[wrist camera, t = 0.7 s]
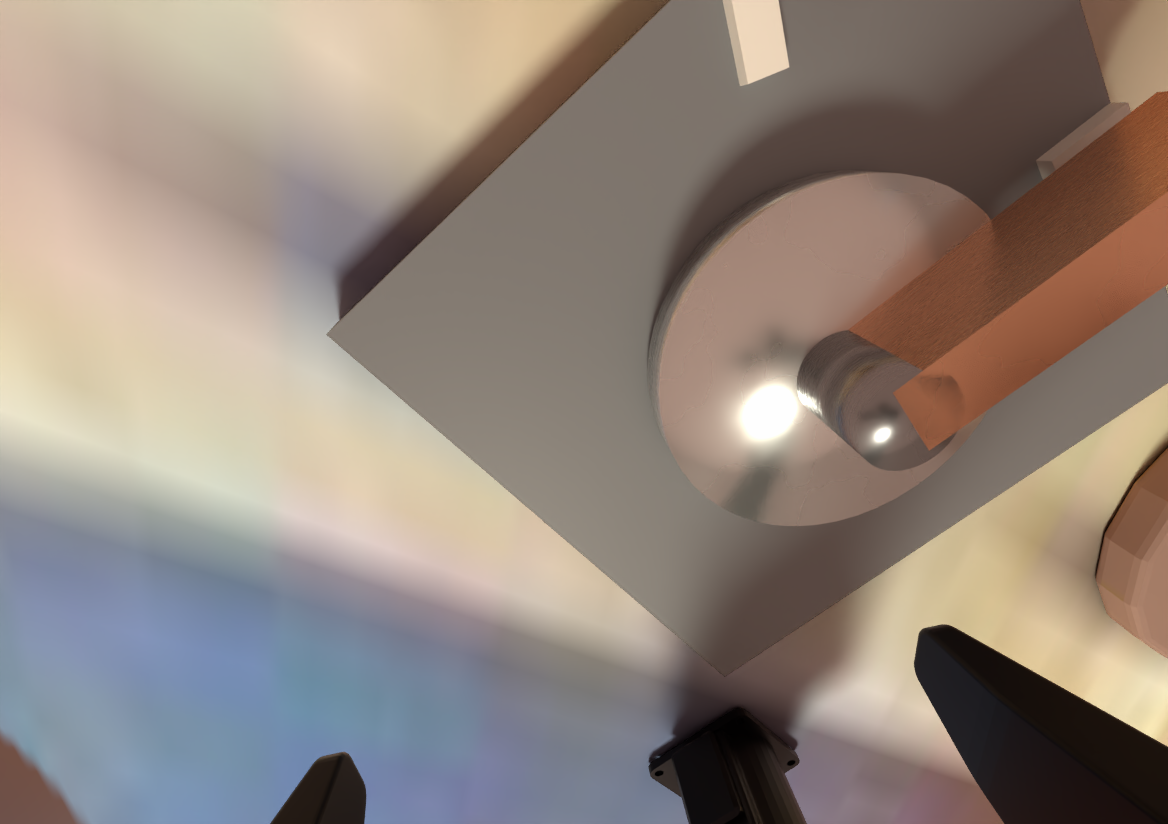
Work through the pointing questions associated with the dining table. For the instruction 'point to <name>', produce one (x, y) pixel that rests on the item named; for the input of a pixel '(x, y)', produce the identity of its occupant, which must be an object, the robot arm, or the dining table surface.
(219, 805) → the dining table surface
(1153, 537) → the wooden pedestal stand
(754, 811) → the robot arm
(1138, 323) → the panel
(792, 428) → the dial
